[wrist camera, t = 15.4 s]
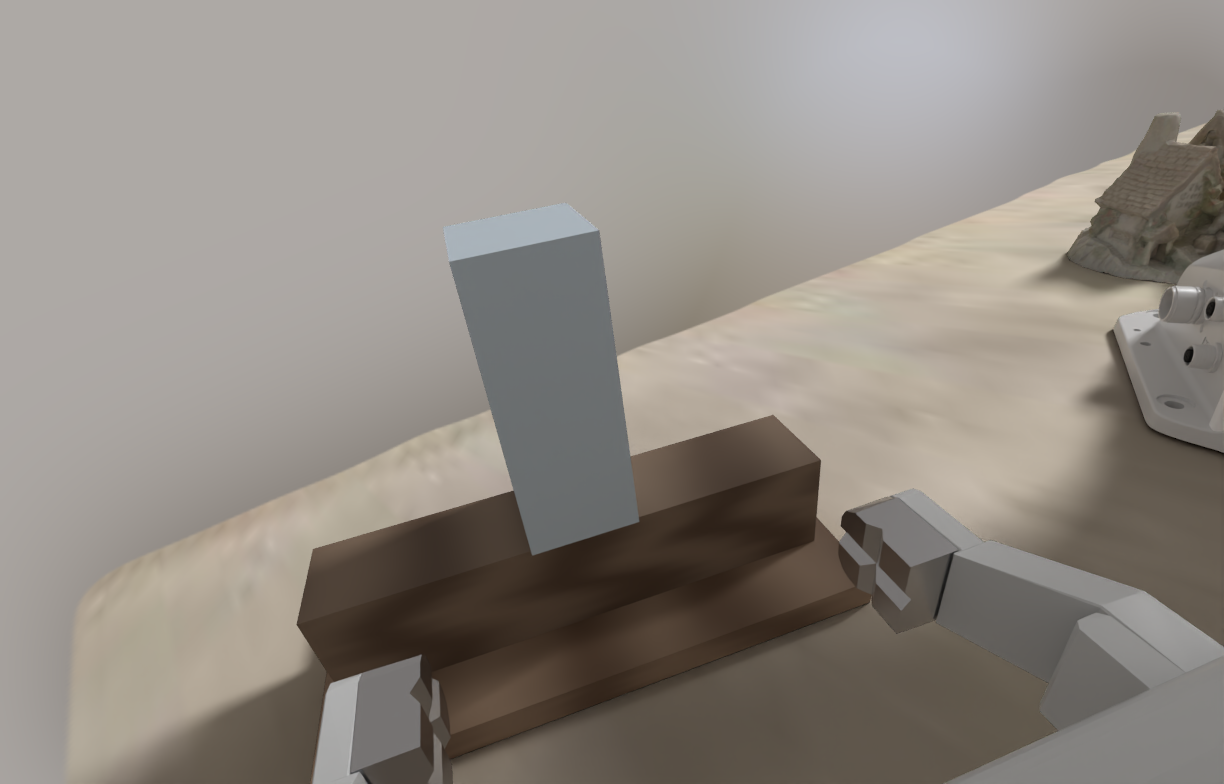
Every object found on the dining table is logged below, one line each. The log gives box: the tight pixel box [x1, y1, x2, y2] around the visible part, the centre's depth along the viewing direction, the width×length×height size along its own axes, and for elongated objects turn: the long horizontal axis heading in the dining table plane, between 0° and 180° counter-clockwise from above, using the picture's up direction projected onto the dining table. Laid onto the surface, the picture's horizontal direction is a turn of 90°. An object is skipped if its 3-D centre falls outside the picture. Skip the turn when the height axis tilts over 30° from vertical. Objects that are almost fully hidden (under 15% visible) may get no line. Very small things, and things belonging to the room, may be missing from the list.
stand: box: [297, 415, 871, 784], centre depth 26 cm, size 24×10×6 cm, turn 107°
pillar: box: [443, 203, 639, 556], centre depth 22 cm, size 4×4×12 cm
